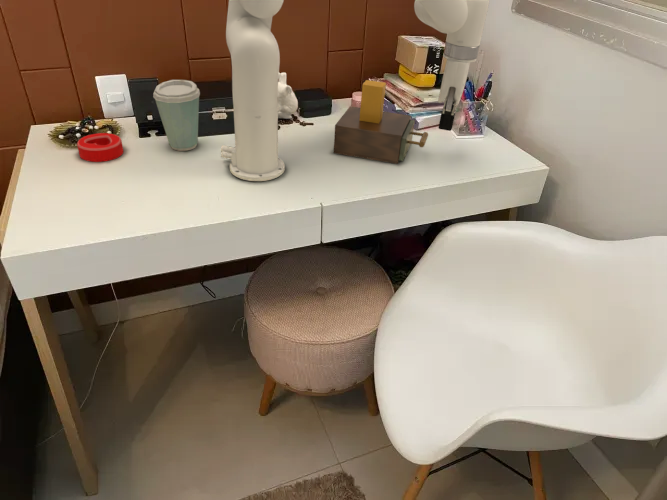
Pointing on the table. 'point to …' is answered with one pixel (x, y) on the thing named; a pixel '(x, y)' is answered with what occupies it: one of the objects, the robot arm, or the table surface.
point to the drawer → (410, 139)
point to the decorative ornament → (100, 147)
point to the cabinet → (370, 136)
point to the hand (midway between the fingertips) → (445, 128)
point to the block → (372, 101)
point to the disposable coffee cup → (179, 112)
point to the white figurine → (285, 98)
